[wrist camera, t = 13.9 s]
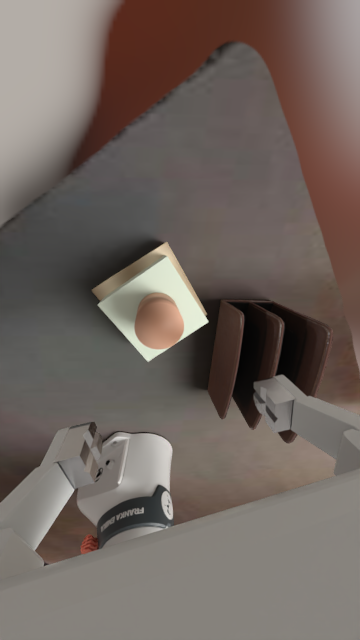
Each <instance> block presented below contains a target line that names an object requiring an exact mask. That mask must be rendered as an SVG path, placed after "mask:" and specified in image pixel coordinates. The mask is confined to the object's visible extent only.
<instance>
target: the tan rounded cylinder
mask: <svg viewBox="0 0 360 640" xmlns="http://www.w3.org/2000/svg"><path fill="white" fill-rule="evenodd" d="M134 329H135V334H136V336H137V338H138V340H139V341H140V342H141V343H142V344H143V345H145V346H147V347H149V348H152V349H166V348H169V347H171V346H173V345H174V344H176V343H177V342H178V341H179V339H180V338H181V336H182V334H183V331H184V321H183V318H182V316H181V314H180V312H179V309H178V307H177V305H176V303H175V301H174V300H173V299H172V298H171V297H170V296H168V295H166V294H164V293H152V294H149V295H147V296H145V297H144V298H143V299H142V300H141V302H140V303H139V306H138V310H137V315H136V320H135V326H134Z"/></svg>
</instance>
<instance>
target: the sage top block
mask: <svg viewBox="0 0 360 640" xmlns="http://www.w3.org/2000/svg"><path fill="white" fill-rule="evenodd" d="M152 293H164V294H166V295H168V296H170V297H171V298H172V299H173V300H174V301H175V303H176V305H177V307H178V309H179V312H180V314H181V316H182V318H183V321H184V331H183V334H182V336H181V338H180V339H179V341H180V340H182V339H183V338H185V337H187V336H188V335H190V334H191V333H193V332H194V331H196V330H197V329H199V328H200V327H202V326H203V325H205V324H206V323H208V322H209V321H208V320H207V318H206V317H205V315H204V313H203V312H202V310H201V309H200V307H199V306H198V304H197V302H196V301H195V299H194V298H193V296H192V294H191V293H190V291H189V290H188V288H187V286H186V285H185V283H184V282H183V280H182V279H181V277H180V275H179V274H178V272H177V271H176V269H175V267H174V266H173V264H172V263H171V261H170V259H169V258H168V256H166V255H164V256H162V257H161V258H160V259H158V260H157V261H155V262H154V263H152V264H151V265H150V266H148V267H147V268H145V269H144V270H142V271H141V272H139V273H138V274H137V275H135V276H134V277H132V278H131V279H129V280H128V281H127V282H125V283H124V284H122V285H121V286H119V287H118V288H117V289H115V290H114V291H112V292H111V293H109V294H108V295H106V296H105V297H104V298H103V299H102V300H101V301H100V302H99V304H98V306H99V307H100V308H101V310H102V311H103V312H104V313H105V314H106V315H107V316H108V317H109V319H110V320H111V321H112V322H113V323H114V324H115V325H116V326H117V328H118V329H119V330H120V331H121V332H122V333H123V334H124V335H125V336H126V338H127V339H128V340H129V341H130V342H131V343H132V344H133V345H134V347H135V348H136V349H137V350H138V351H139V352H140V353H141V354H142V356H143V357H144V358H145V359H146V360H147V361H150V360H151V359H153V358H154V357H156V356H158V355H159V354H161V353H162V352H164V351H165V350H167V349H168V348H166V349H152V348H149V347H147V346H145V345H143V344H142V343H141V342H140V341H139V340H138V338H137V336H136V334H135V329H134V326H135V320H136V315H137V310H138V306H139V303H140V302H141V300H142V299H143V298H144V297H145V296H147V295H149V294H152ZM179 341H178V342H179ZM169 348H170V347H169Z"/></svg>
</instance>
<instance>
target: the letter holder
mask: <svg viewBox="0 0 360 640" xmlns="http://www.w3.org/2000/svg"><path fill="white" fill-rule="evenodd" d="M332 341H333V331H332V329H331V328H330V327H329V326H328V325H327V324H325V323H322V322H320V321H318V320H315V319H313V318H311V317H308V316H306V315H303V314H301V313H298V312H296V311H293V310H291V309H289V308H287V307H284V306H282V305H280V304H278V303H275V302H274V301H260V300H232V299H231V300H228V299H222V300H221V304H220V311H219V317H218V324H217V330H216V337H215V344H214V350H213V356H212V363H211V370H210V376H209V383H208V389H207V390H208V393H209V395H210V397H211V400H212V402H213V404H214V406H215V408H216V410H217V412H218V415H219V417H220V418H221V419H224V418H225V417H226V414H227V411H228V408H229V405H230V401H231V398H232V397H233V399H234V401H235V402H236V404H237V406H238V408H239V409H240V411H241V413H242V415H243V417H244V418H245V420H246V422H247V424H248V426H249V427H250V428H251V429H252V430H254V429H255V428H256V427H257V425H258V423H259V421H260V419H261V416H262V414H261V413H260V412H259V411H258V409H257V407H256V405H255V402H254V393H255V392H256V390H255V389H254V382H255V381H259V380H263V379H267V378H271V377H274V376H278V375H284V376H285V377H286V378H287V379H289V380H290V381H291V382H292V383H293V384H294V385H295V386H296V387H297V388H298V389H300V390H301V391H302V392H303V393H304V394H305V395H306V396H307V397H308V396H312V397H314V398H316V395H317V392H318V390H319V387H320V384H321V381H322V378H323V375H324V371H325V368H326V365H327V362H328V358H329V354H330V350H331V346H332ZM278 434H279V435H280V436H281V438H282V439H283V440H284V441H285V442H286V443H291V442H293V441H294V439H295V438H296V436H297V435H298V434H296V433H295V432H293V431H292V430H291V429H289V430H285V431H280V432H278Z"/></svg>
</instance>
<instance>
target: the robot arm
mask: <svg viewBox="0 0 360 640" xmlns="http://www.w3.org/2000/svg"><path fill="white" fill-rule="evenodd" d="M254 389H255V390H256V392H255V393H254V402H255V405H256V407H257V409H258V411H259V412H260V413H261V414H262V415H264V416H266V422H267V424H268V425H269V427H270V428H271V430H272V431H273V432H274V433H276V432H280V431H285V430H289V429H291V430H292V431H293V432H295V433H296V434H298V435H299V436H301V437H303V438H304V439H306V440H307V441H309V442H310V443H312V444H313V445H315V446H316V447H318V448H319V449H321V450H322V451H324V452H326V453H327V454H329V455H330V456H332V457H333V458H335V459H336V464H335V468H334V474H335V475H336V476H334V477H331V478H327V479H324V480H321V481H318V482H315V483H311V484H308V485H305V486H302V487H298V488H295V489H292V490H289V491H285V492H282V493H279V494H276V495H273V496H269V497H266V498H263V499H260V500H256V501H253V502H250V503H247V504H243V505H240V506H237V507H234V508H231V509H227V510H224V511H221V512H218V513H214V514H211V515H208V516H205V517H201V518H198V519H195V520H192V521H189V522H185V523H182V524H179V525H176V526H174V519H173V508H172V500H171V494H170V467H171V458H172V447H171V445H170V443H169V442H168V441H167V440H166V439H164V438H163V437H161V436H158V435H155V434H149V433H140V434H129V433H124V432H117V433H115V434H113V435H112V436H111V437H110V438H109V439H107V440H106V441H105V442H104V443H103V444H102V438H101V435H100V433H98V432H96V428H97V426H96V424H95V422H90V423H85V424H81V425H76V426H72V427H68V428H64V429H60V430H59V431H58V432H57V433H56V435H55V437H54V439H53V441H52V443H51V445H50V447H49V449H48V451H47V453H46V455H45V457H44V459H43V461H42V463H41V465H40V467H37V468H35V469H34V470H33V471H32V472H31V473H30V474H29V475H28V476H27V477H26V478H25V479H24V480H23V481H22V482H21V483H20V484H19V485H18V486H17V487H16V488H15V489H14V490H13V491H12V492H11V493H10V494H9V495H8V496H7V497H6V498H5V499H4V500H3V501H2V502H1V503H0V640H360V415H358V414H355V413H353V412H350V411H348V410H345V409H342V408H340V407H337V406H335V405H332V404H330V403H327V402H324V401H322V400H319V399H317V398H314V397H312V396H308V397H307V396H306V395H305V394H304V393H303V392H302V391H301V390H300V389H298V388H297V387H296V386H295V385H294V384H293V383H292V382H291V381H290V380H289V379H287V378H286V377H285V376H284V375H278V376H274V377H271V378H267V379H263V380H259V381H255V382H254ZM76 488H78V493H77V505H78V507H79V509H80V511H81V512H82V513H83V514H84V515H85V516H86V517H87V518H88V519H89V520H90V521H91V522H92V523H93V524H94V525H95V526H96V527H97V537H98V539H97V538H94V537H93V536H92V535H90V534H89V535H87V536H86V537H85V538H84V541H83V542H82V545H81V549H80V551H82V552H81V553H82V555H79V556H76V557H73V558H69V559H66V560H63V561H60V562H57V563H53V564H50V565H47V566H44V567H43V565H44V561H43V559H42V558H41V557H40V556H39V555H38V554H37V553H36V552H35V549H36V548H37V546H38V545H39V543H40V542H41V540H42V539H43V537H44V536H45V534H46V533H47V531H48V530H49V528H50V527H51V525H52V524H53V522H54V521H55V519H56V518H57V516H58V515H59V513H60V512H61V510H62V509H63V507H64V505H65V504H66V502H67V501H68V499H69V498H70V496H71V495H72V493H73V492H74V489H76Z"/></svg>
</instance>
